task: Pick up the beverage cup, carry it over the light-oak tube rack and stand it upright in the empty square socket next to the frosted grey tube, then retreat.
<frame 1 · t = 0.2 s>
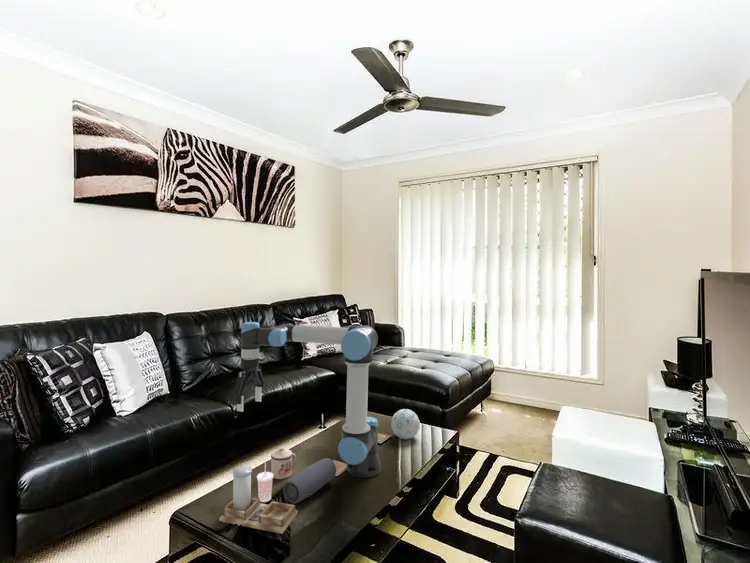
hand: (249, 406, 179), 28 cm above the table, fingers open, 13 cm apart
grey tube: (241, 513, 147), resting on rack
beverage cup: (264, 499, 157), on the table
rack: (259, 517, 145), on the table
bluetooth speaker: (310, 493, 162), on the table
teacup with lid: (284, 473, 177), on the table
puzzle ball: (405, 438, 217), on the table
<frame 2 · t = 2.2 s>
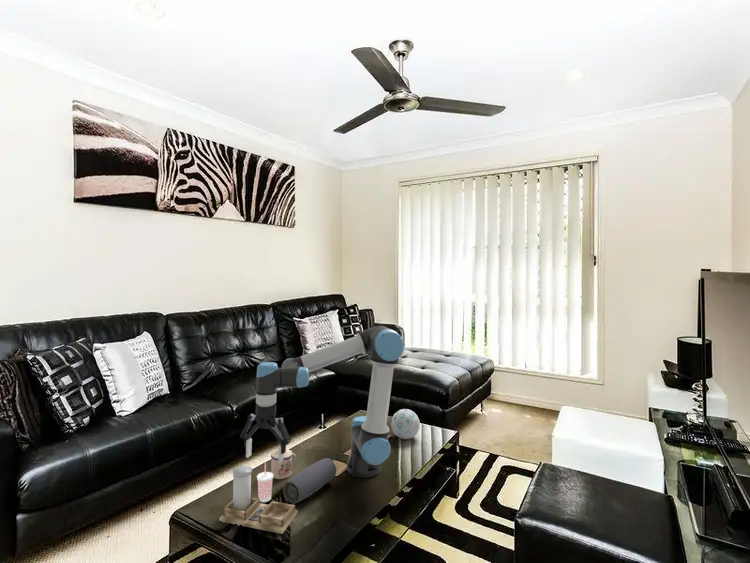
hand: (264, 459, 156), 15 cm above the table, fingers open, 13 cm apart
nothing on the table moved.
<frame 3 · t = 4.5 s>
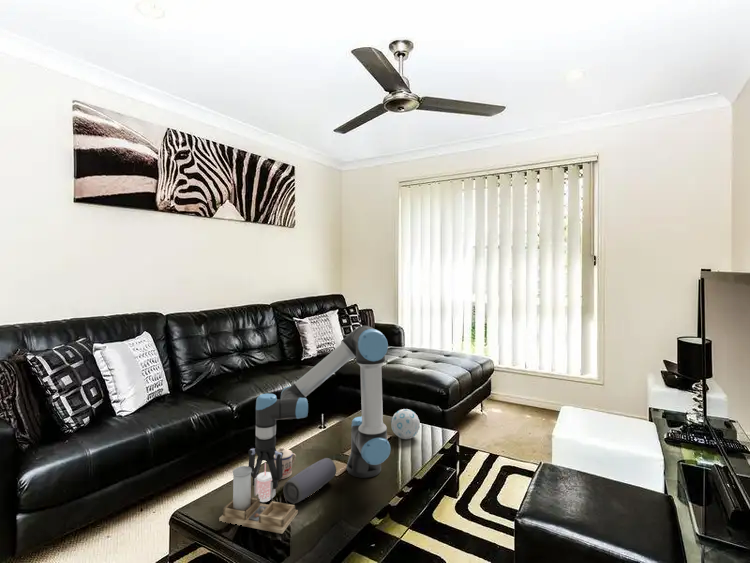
hand: (264, 495, 157), 1 cm above the table, fingers closed on beverage cup, 6 cm apart
beverage cup: (264, 499, 157), on the table, touching gripper
everything else where it was.
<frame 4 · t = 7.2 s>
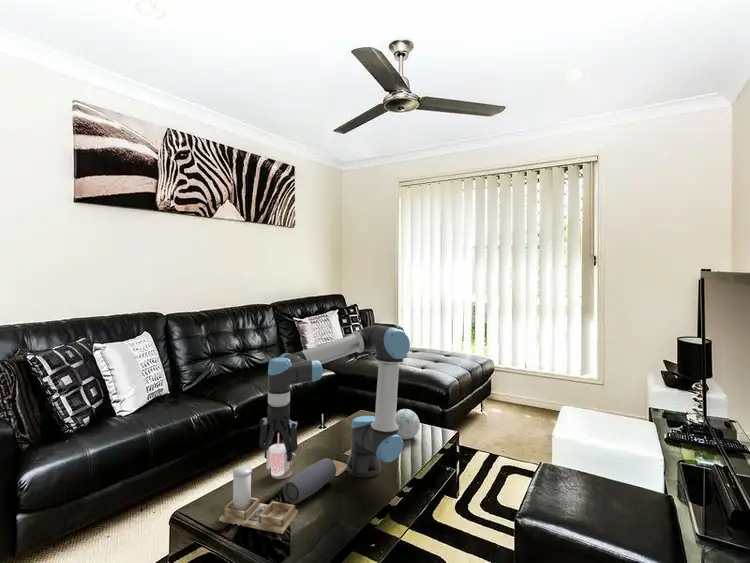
hand: (278, 468, 143), 18 cm above the table, fingers closed on beverage cup, 6 cm apart
beverage cup: (277, 473, 143), point 17 cm above the table, touching gripper
everything else where it was.
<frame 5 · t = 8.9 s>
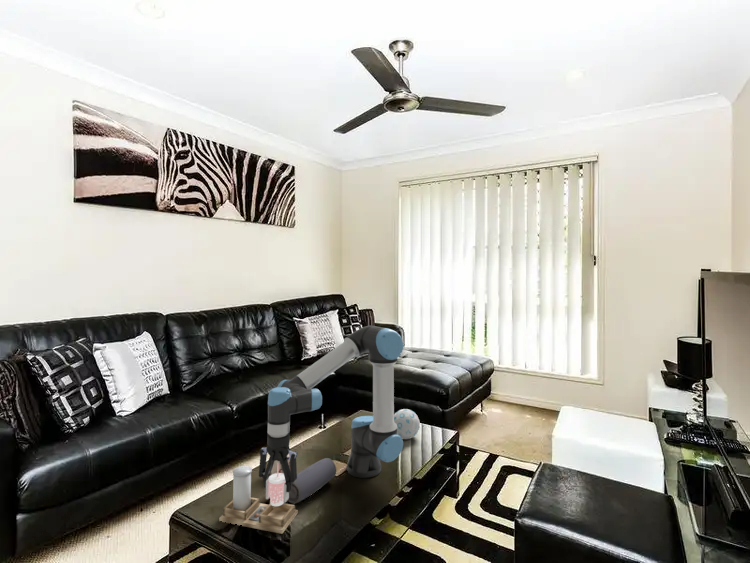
hand: (277, 498, 143), 8 cm above the table, fingers closed on beverage cup, 6 cm apart
beverage cup: (277, 503, 143), point 6 cm above the table, touching gripper
everything else where it was.
when the fingers open (4 cm above the table, at t = 10.4 s): beverage cup drops 2 cm, resting on rack.
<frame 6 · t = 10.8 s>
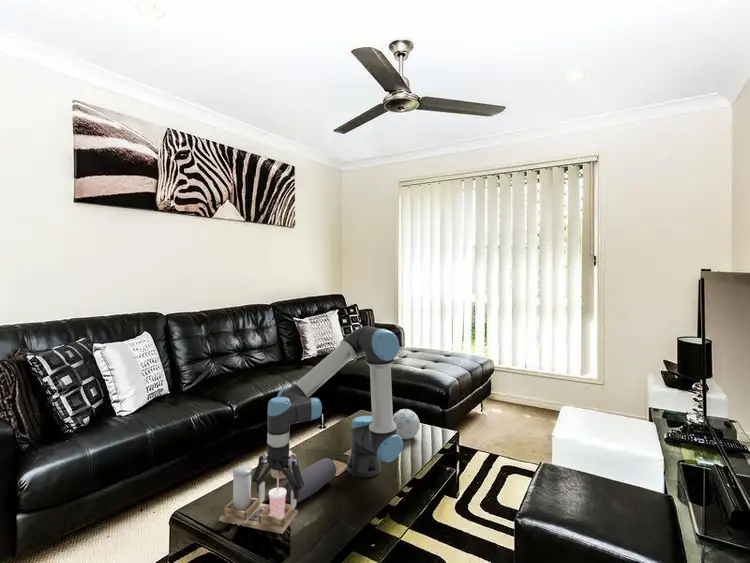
hand: (277, 504, 143), 6 cm above the table, fingers open, 11 cm apart
beverage cup: (277, 517, 144), point 1 cm above the table, touching rack
everything else where it was.
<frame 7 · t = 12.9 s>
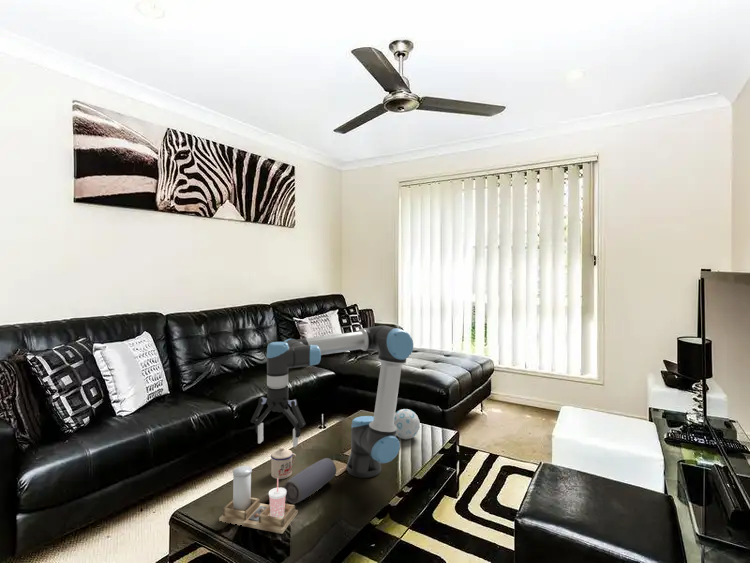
hand: (277, 443, 148), 25 cm above the table, fingers open, 13 cm apart
nothing on the table moved.
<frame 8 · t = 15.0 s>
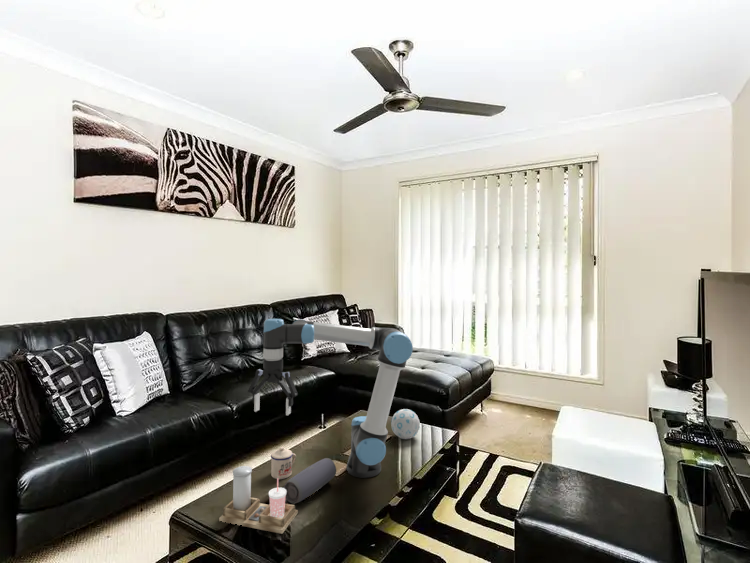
hand: (272, 412, 161), 32 cm above the table, fingers open, 13 cm apart
nothing on the table moved.
at the end: beverage cup 0.0 cm from the target spot on the rack, point 1.0 cm above the rack's base; beverage cup tilted 0°; the gripper is holding nothing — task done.
